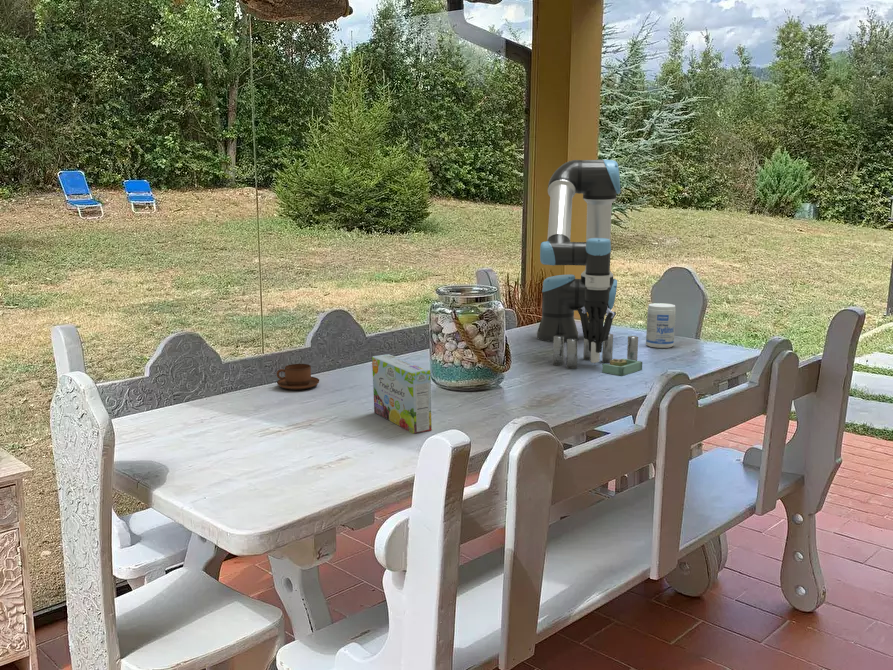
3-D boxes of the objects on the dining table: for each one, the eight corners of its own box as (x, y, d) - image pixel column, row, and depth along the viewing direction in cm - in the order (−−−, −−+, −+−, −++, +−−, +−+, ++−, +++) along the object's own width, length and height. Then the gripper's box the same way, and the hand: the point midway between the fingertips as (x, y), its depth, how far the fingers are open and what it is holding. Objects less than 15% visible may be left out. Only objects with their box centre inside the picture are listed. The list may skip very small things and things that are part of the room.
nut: (619, 372, 259) (620, 362, 259) (607, 370, 262) (607, 360, 262) (628, 369, 263) (629, 360, 262) (616, 367, 266) (616, 358, 266)
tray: (602, 372, 260) (602, 364, 260) (622, 366, 268) (622, 358, 268) (621, 375, 255) (622, 367, 255) (642, 369, 263) (642, 361, 263)
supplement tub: (658, 349, 293) (660, 307, 290) (640, 345, 301) (641, 304, 298) (679, 347, 297) (681, 305, 294) (661, 342, 305) (662, 302, 303)
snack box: (371, 413, 216) (370, 355, 214) (391, 410, 219) (390, 353, 217) (412, 434, 199) (412, 372, 196) (433, 430, 202) (432, 369, 199)
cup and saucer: (279, 394, 236) (278, 372, 235) (275, 384, 248) (274, 363, 247) (322, 390, 240) (321, 369, 238) (316, 381, 251) (316, 360, 250)
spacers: (549, 364, 270) (549, 337, 269) (585, 355, 284) (585, 328, 283) (604, 375, 256) (605, 345, 255) (639, 364, 270) (640, 336, 268)
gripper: (572, 287, 266) (571, 360, 270) (608, 291, 257) (605, 367, 262) (586, 285, 271) (584, 357, 276) (621, 288, 262) (619, 363, 267)
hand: (595, 361), depth 269 cm, fingers closed
